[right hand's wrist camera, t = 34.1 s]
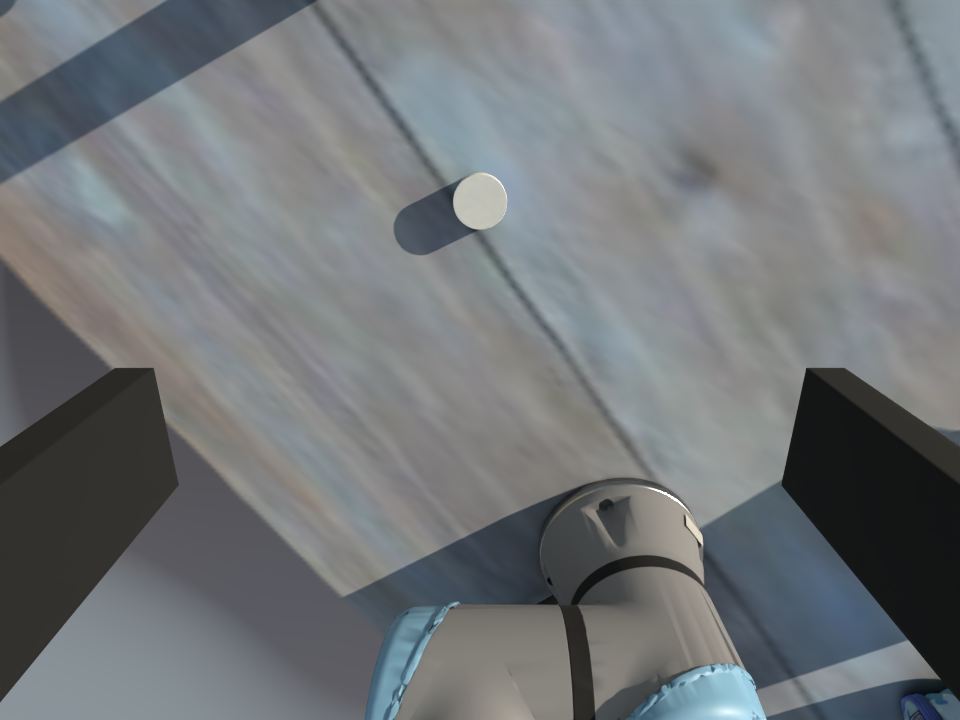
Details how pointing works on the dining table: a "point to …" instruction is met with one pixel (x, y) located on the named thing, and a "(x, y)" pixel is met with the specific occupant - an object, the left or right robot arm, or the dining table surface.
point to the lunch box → (931, 706)
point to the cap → (480, 201)
